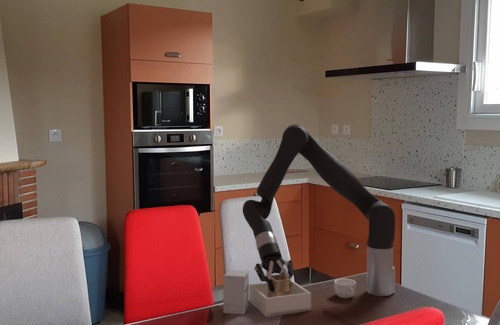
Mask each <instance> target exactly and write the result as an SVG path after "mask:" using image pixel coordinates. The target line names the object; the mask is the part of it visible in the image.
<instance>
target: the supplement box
mask: <svg viewBox="0 0 500 325" xmlns="http://www.w3.org/2000/svg"><path fill="white" fill-rule="evenodd" d="M249 274H250V273H249V271H248V270H235V269H233V270H232V269H229V270H227V271H226V272H225V274H224V275H223V277H222V280H223V282H222V284H223V286H222V291H223V292H222V294H223V298H222V299H223V300H222V302H223V305H222V307H223V311H222V312H223V314H229V315H230V314H231V315H232V314H233V315H245V314H246V312H247V309H248V308H249V307H250V306H249V304H250V302H249V284H250V280H249Z"/></svg>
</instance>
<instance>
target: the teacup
mask: <svg viewBox="0 0 500 325" xmlns="http://www.w3.org/2000/svg"><path fill="white" fill-rule="evenodd" d="M333 287H334V293H335V294H336V296H338V297H339V298H341V299H350V298H352V297H353V296H354V295H355V293H356V289H357V282H356V281H355V280H354V279H350V278H336V279H335V280H334V284H333Z"/></svg>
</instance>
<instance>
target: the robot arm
mask: <svg viewBox="0 0 500 325" xmlns="http://www.w3.org/2000/svg"><path fill="white" fill-rule="evenodd" d="M298 154H300V155H301V156H302V157H303V158H304V159H306V161H307V162H309V164H310V165H311V166H312V168H314V170H315V172H316V173H317V175H319V176H320V178H321V179H322V180H323V181H324V182H325V183H326V184H327V185H328V186H329V187H330V188H332V190H334V191H335V192H336V193H338V194H339V195H341V197H343V198H344V199H346V200H348V201H349V202H350V203H351V204H353V205H354V206H355V207H356V208H357V210H359V212H361V213H362V215H363V216H364V217H365V219H366V221H367V222H368V236H367V240H366V243H367V244H366V293H367V294H369V295H372V296H375V297H376V296H377V297H388V296H391V295H393V294H395V292H396V267H395V266H394V241H395V236H396V214H395V211H394V209H393V208H392V207H391V206H390V205H388V204H387V203H385V202H384V201H382V200H380V199H379V198H378V197H377V196H375V195H374V194H373V193H372V192H370V191H369V190H368V189H366V187H365V186H364V185H363V183H362V182H361V181H360V180H359V178H358V177H357V176H356V175H355V173H353V172H352V171H351V170H350V168H348V167H347V166H346V165H345V164H344V163H343V162H341V161H340V160H339V159H338V158H337V157H336V156H334V155H333V154H331V152H329V151H328V150H326V149H325V148H324V147H323V146H322V145H321V144H320V143H318V141H317V140H316V139H315V138H314V137H313V136H312V135H311V134H310V132H309V131H308V130H307V129H306V127H304V125H302V124H297V123H294V124H291V125H289V126H287V127H286V128H285V129H284V131H283V132H282V137H281V142H280V145H279V147H278V150H277V152H276V154H275V156H274V158H273V160H272V162H271V164H270V165H269V167H268V169H267V170H266V172H265V173H264V175H263V176H262V179H261V181H260V182H259V184H258V186H257V188H256V194H257V195H258V196H259V197H260V198H261V200H260V201H259V200H256V199H255V200H254V199H248V200H246V201H244V203H243V205H242V214H243V217H244V219H245V221H246V222H247V224H248V225H249V227H250V229H251V231H252V232H253V236H254V239H255V245H256V246H255V247H256V250H257V252H258V255H259V259H260V262H261V263H255V266H254V271H255V272H256V274H257V276H258V278H259V280H260V282H261V283H266V282H267V285H268V288H269V290H270V291H271V292H274V285H273V282H272V280H271V275H275V274H278V275H280V274H281V275H285V276H286V277H288V278H289V279H290V280H291V279H292V278H293V277H294V266H293V260H291V259H289V260H284V259H283V256H282V252H281V250H280V247H279V244H278V241H277V238H276V235H275V234H274V231H273V228H272V225H271V222H269V221H268V220H267V219H268V218H269V217H270V214H271V211H272V207H273V203H274V199H275V196H276V194H277V192H278V190H279V188H280V186H281V185H282V183H283V181H284V178H285V176H286V174H287V172H288V170H289V168H290V166H291V164H292V162H294V160H295V159H296V157H297V156H298ZM264 270H265V271H266V274H265V273H264ZM291 287H292V284H291V281H290V289H291Z"/></svg>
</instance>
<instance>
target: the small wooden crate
mask: <svg viewBox="0 0 500 325" xmlns="http://www.w3.org/2000/svg"><path fill="white" fill-rule="evenodd" d="M271 280H272V282H273V285H274V292H271V291H270V290H269V288H268V298H270V297H278V296H285V295H290V280H291V278H290V279H289V278H288V277H286V276H285V275H281V274H280V275H279V274H272V275H271Z"/></svg>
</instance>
